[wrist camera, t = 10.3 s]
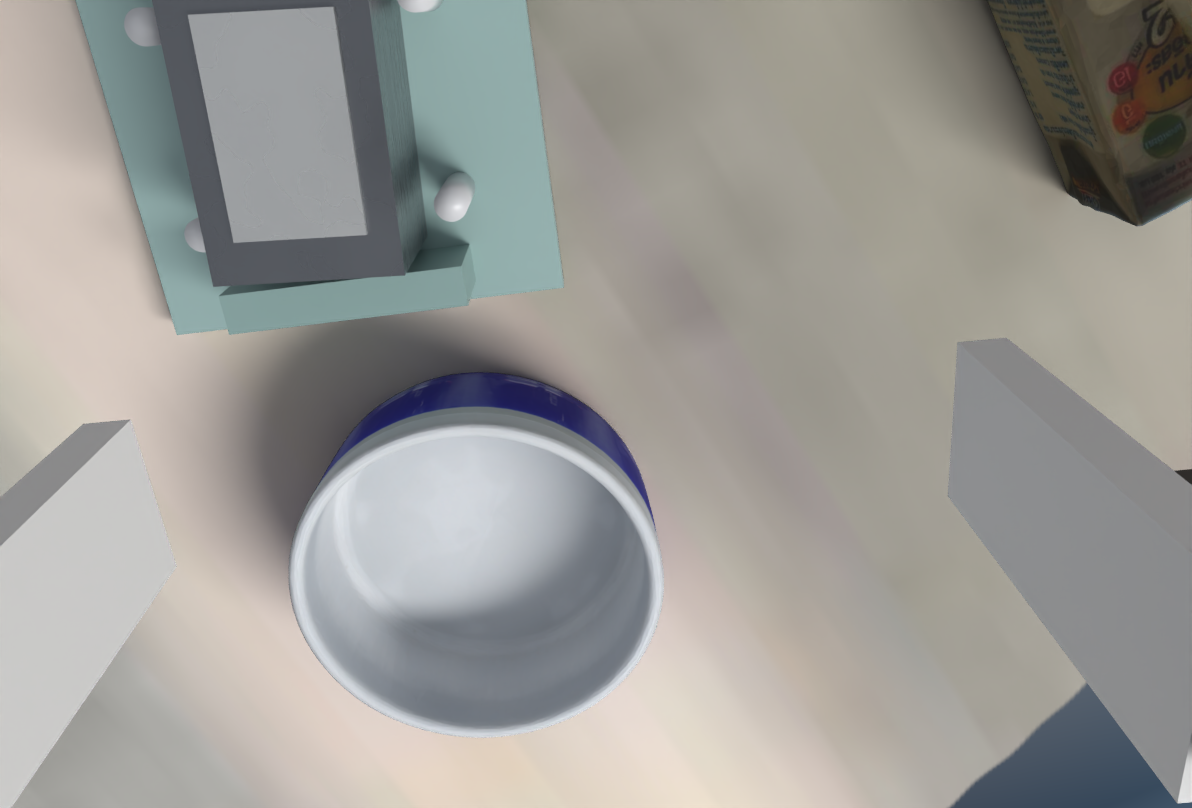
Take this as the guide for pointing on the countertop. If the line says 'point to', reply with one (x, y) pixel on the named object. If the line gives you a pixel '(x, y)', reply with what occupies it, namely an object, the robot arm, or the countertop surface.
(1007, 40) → the beverage carton
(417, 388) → the dog bowl
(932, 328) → the countertop surface
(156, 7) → the block
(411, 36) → the pin tray
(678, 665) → the countertop surface
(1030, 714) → the countertop surface
